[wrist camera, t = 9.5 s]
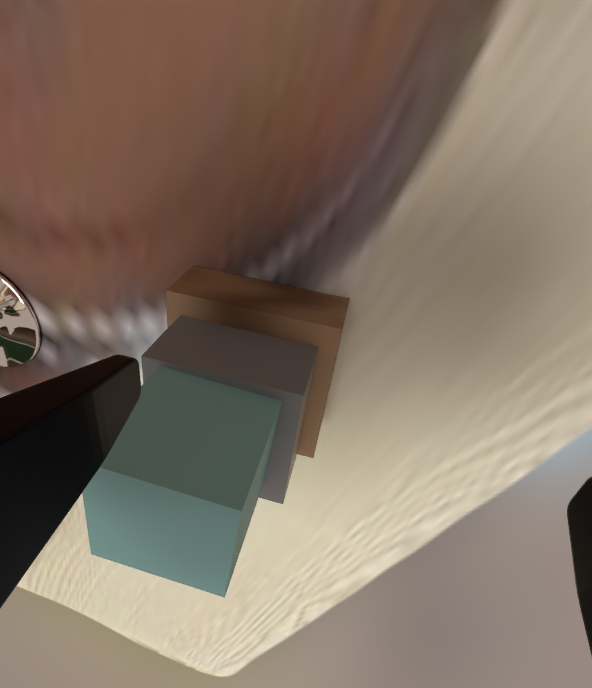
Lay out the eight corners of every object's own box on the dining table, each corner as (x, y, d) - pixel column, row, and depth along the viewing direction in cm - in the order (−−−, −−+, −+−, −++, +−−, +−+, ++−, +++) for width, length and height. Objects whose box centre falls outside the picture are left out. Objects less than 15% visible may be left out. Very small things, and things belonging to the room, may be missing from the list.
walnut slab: (349, 295, 21) (342, 329, 18) (322, 414, 25) (313, 457, 22) (197, 263, 22) (166, 290, 19) (196, 384, 26) (171, 422, 23)
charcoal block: (318, 347, 19) (303, 395, 16) (298, 448, 22) (283, 504, 19) (180, 315, 19) (141, 356, 16) (181, 419, 23) (149, 468, 20)
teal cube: (282, 400, 16) (241, 511, 12) (262, 483, 19) (224, 597, 15) (159, 365, 16) (78, 460, 12) (157, 452, 19) (90, 554, 15)
